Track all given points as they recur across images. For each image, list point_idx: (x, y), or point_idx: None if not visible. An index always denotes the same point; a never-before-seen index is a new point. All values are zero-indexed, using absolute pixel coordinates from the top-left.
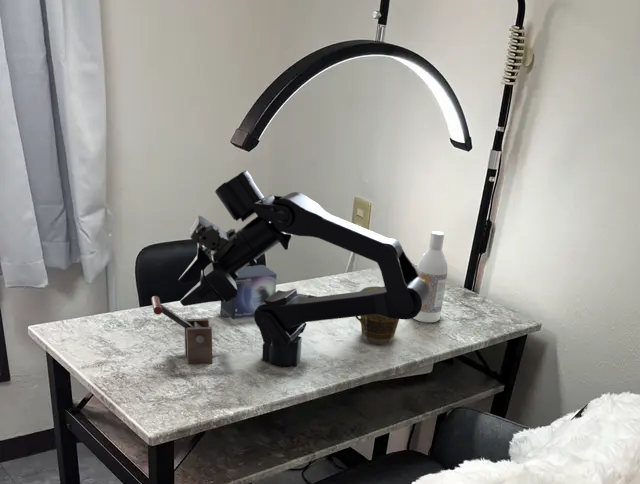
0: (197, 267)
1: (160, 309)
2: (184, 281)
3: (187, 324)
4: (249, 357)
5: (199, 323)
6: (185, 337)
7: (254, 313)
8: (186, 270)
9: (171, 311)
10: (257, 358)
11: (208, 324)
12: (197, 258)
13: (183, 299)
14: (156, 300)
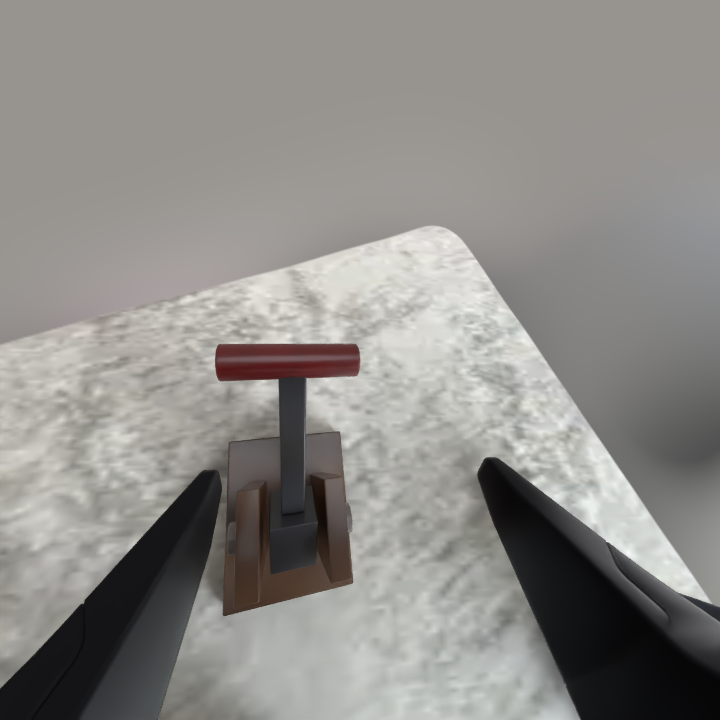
0: (592, 612)
1: (217, 371)
2: (488, 489)
3: (281, 492)
4: (335, 677)
5: (325, 538)
6: (316, 477)
7: None
8: (550, 511)
9: (299, 426)
10: (327, 712)
11: (328, 576)
12: (690, 659)
13: (183, 493)
14: (302, 355)
